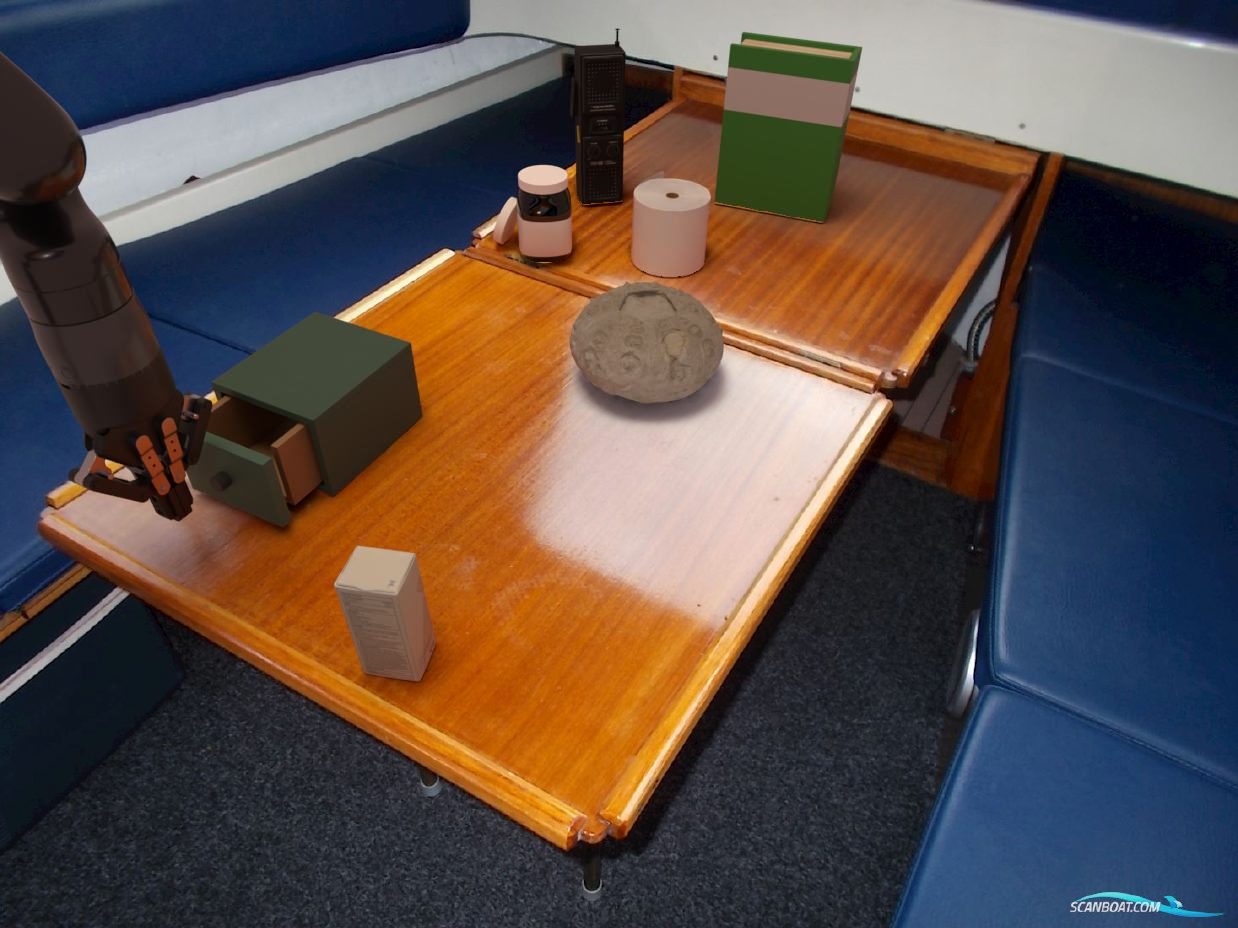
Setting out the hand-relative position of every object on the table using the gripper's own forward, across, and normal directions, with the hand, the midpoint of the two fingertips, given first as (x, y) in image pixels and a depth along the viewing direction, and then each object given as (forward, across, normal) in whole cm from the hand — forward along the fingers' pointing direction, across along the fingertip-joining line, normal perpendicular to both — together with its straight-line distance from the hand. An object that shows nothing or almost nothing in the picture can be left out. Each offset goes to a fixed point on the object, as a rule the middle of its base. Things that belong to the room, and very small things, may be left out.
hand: (178, 514), depth 77 cm
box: (+5, +1, +24) cm, 24 cm away
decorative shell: (+6, -45, +25) cm, 52 cm away
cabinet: (+5, -19, 0) cm, 20 cm away
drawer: (+4, -12, 0) cm, 12 cm away
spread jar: (+6, -66, -3) cm, 66 cm away
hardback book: (+6, -98, +23) cm, 101 cm away
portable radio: (+6, -86, -3) cm, 86 cm away
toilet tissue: (+6, -73, +15) cm, 75 cm away
